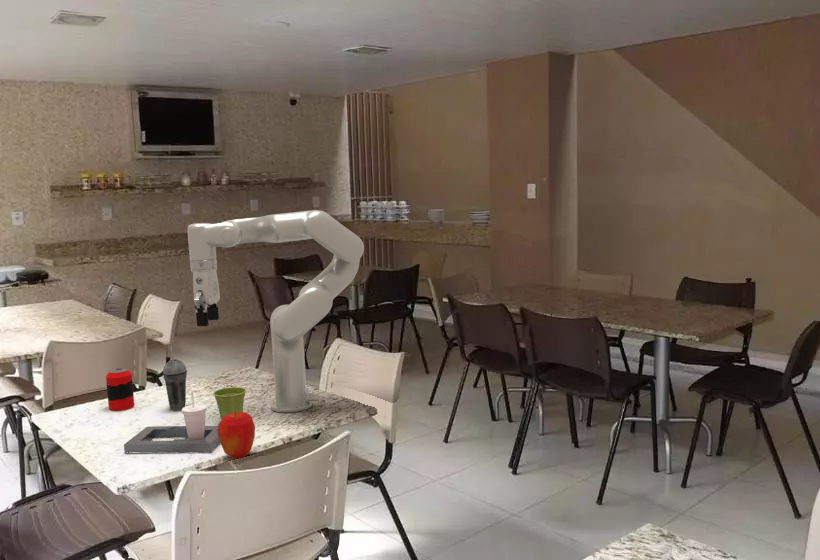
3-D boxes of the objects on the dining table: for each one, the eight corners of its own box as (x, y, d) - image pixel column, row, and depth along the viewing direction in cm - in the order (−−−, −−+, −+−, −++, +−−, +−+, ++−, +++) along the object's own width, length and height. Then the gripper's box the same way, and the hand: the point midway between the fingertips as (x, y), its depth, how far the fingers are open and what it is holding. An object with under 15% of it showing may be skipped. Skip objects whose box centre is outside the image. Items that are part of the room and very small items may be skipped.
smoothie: (201, 437, 196) (198, 387, 194) (213, 442, 191) (210, 391, 190) (180, 443, 192) (176, 392, 190) (191, 449, 187) (187, 396, 185)
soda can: (135, 402, 231) (131, 366, 230) (133, 409, 224) (130, 372, 223) (109, 405, 229) (106, 369, 228) (107, 412, 222) (104, 374, 220)
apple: (245, 447, 187) (242, 402, 185) (263, 455, 180) (261, 409, 179) (212, 457, 181) (209, 411, 179) (230, 466, 174) (227, 418, 173)
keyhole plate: (228, 433, 198) (228, 425, 198) (211, 452, 184) (210, 443, 184) (147, 434, 199) (147, 426, 199) (124, 453, 186) (123, 444, 185)
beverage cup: (193, 405, 226) (189, 343, 224) (184, 412, 219) (179, 348, 217) (171, 405, 227) (166, 343, 225) (161, 412, 220) (156, 348, 217)
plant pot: (210, 419, 211) (208, 391, 210) (240, 413, 216) (238, 385, 215) (222, 427, 203) (220, 397, 202) (253, 420, 209) (251, 391, 208)
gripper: (206, 268, 201) (211, 328, 203) (225, 261, 218) (229, 317, 220) (180, 269, 202) (185, 329, 204) (200, 262, 219) (205, 318, 221)
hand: (208, 322), depth 212 cm, fingers open, 9 cm apart
